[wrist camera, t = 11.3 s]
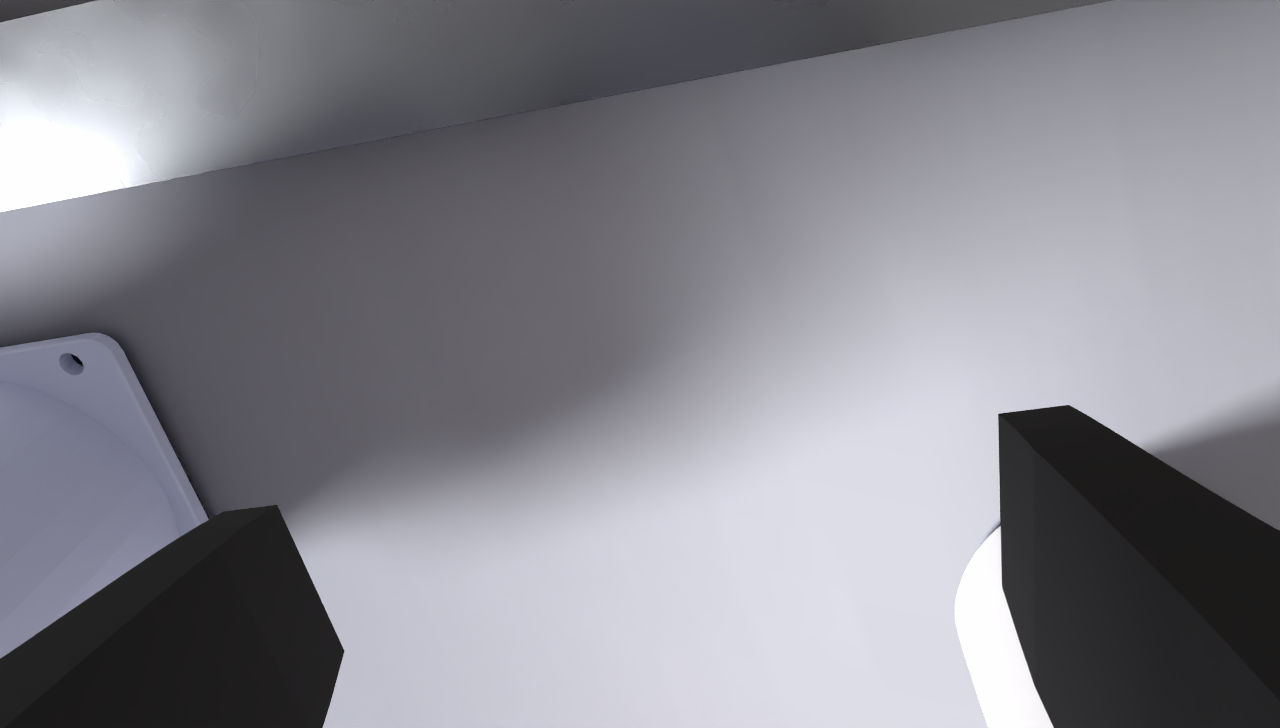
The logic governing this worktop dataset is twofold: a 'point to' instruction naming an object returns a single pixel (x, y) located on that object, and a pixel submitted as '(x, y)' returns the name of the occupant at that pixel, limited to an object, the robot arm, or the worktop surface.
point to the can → (995, 644)
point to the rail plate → (374, 71)
